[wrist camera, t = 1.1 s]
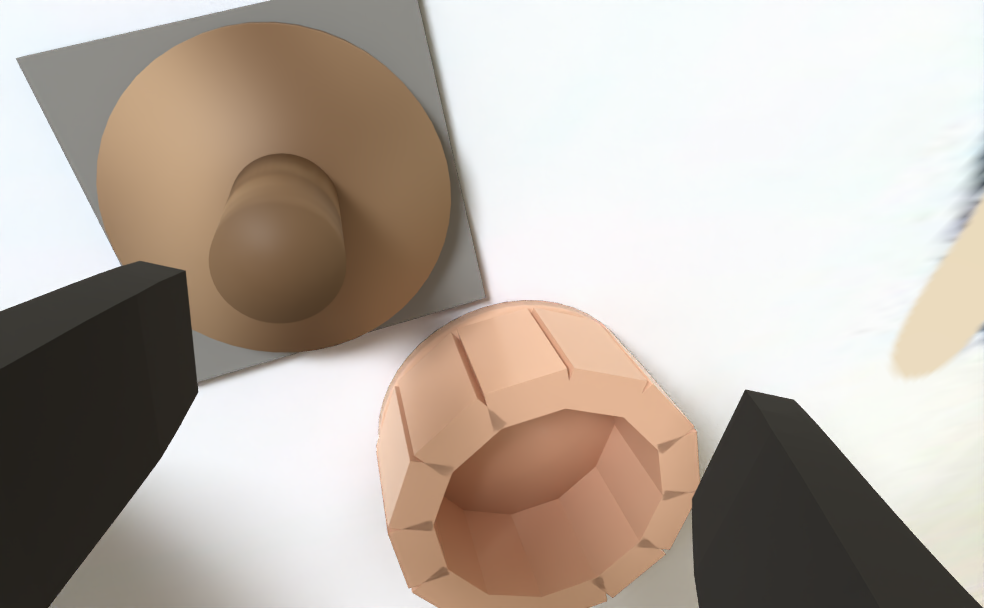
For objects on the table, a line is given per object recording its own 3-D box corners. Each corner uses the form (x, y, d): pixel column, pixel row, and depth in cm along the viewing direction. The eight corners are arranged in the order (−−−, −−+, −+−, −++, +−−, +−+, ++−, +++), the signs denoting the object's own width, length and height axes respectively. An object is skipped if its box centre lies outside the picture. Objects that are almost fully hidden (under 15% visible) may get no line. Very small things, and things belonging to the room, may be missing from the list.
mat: (185, 379, 19) (182, 386, 19) (22, 56, 15) (15, 58, 15) (482, 292, 21) (485, 297, 20) (408, -31, 16) (410, -32, 16)
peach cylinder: (416, 554, 24) (436, 662, 21) (342, 348, 20) (350, 436, 16) (645, 477, 26) (705, 565, 22) (621, 266, 21) (689, 330, 17)
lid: (189, 374, 19) (154, 487, 15) (36, 69, 15) (-69, 103, 11) (473, 291, 20) (517, 375, 16) (401, -15, 16) (434, -13, 12)
